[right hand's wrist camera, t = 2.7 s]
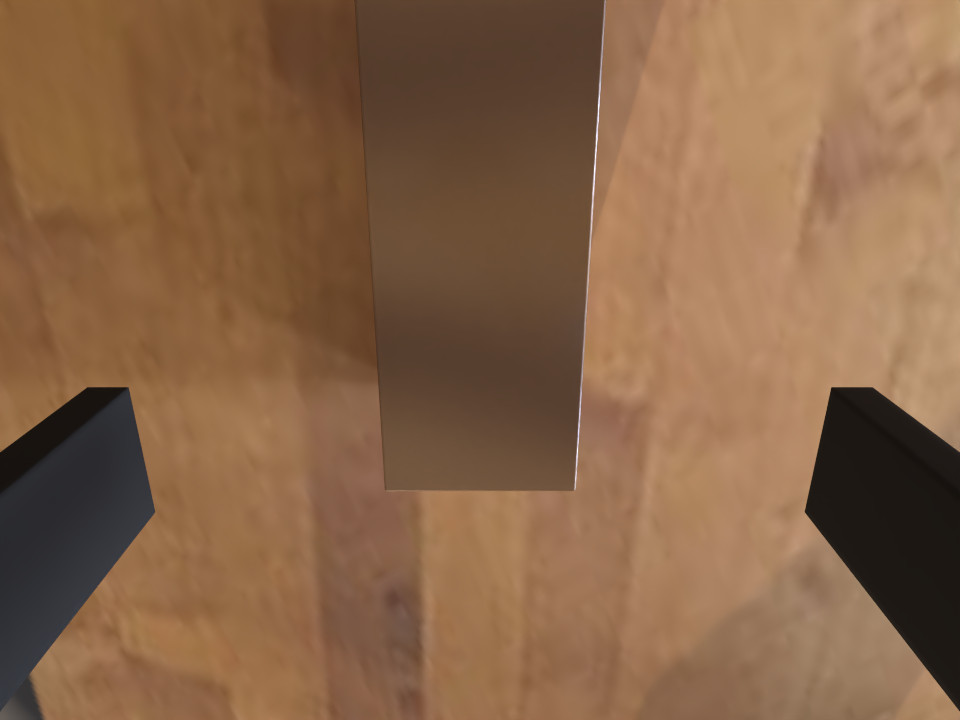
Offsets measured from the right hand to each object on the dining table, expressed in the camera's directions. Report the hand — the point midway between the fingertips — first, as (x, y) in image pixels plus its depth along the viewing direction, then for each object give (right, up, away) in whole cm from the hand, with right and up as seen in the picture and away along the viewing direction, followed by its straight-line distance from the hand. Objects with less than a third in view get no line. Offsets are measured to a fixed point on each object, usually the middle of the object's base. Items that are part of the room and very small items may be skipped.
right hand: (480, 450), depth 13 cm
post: (0, +27, +5) cm, 28 cm away
